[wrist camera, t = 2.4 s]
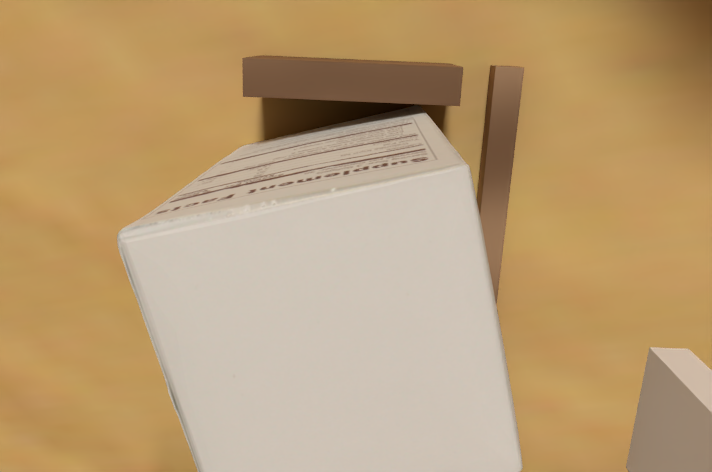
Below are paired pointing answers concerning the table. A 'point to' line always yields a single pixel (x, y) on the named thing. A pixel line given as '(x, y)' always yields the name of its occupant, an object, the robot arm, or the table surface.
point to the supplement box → (329, 306)
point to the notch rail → (410, 88)
